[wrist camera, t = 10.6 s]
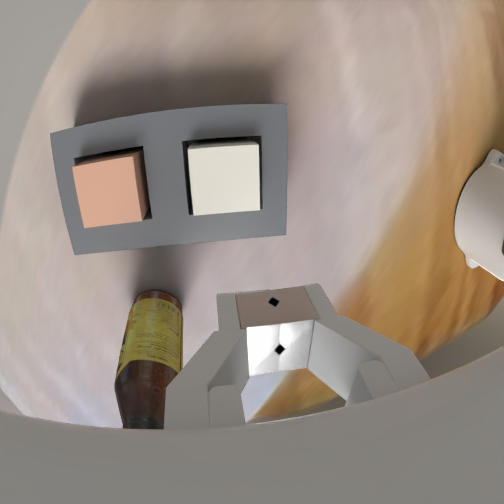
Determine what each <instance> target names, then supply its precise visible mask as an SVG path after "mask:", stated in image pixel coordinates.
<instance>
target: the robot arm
mask: <svg viewBox="0 0 504 504" xmlns="http://www.w3.org/2000/svg"><path fill="white" fill-rule="evenodd" d="M455 237H456V241H457V244H458V246H459V247H460V249H461V250H462V251H463V252H464V254H465V258H466V263H467V265H468V266H469V267H471V268H475V267H477V266H481V267H482V268H484V269H485V270H487V271H488V272H490V273H491V274H493V275H494V276H496V277H497V278H499V279H500V280H502V281H504V154H503V153H501V152H500V151H498V150H496V149H492V150H491V151H490V152H489V154H488V156H487V158H486V160H485V162H484V163H483V165H482V166H481V167H479V168H478V169H477V170H476V171H475V172H474V173H473V174H472V176H471V177H470V178H469V180H468V182H467V183H466V185H465V187H464V189H463V191H462V194H461V196H460V199H459V202H458V206H457V210H456V215H455ZM217 310H218V323H219V331H215V332H213V333H212V334H211V336H210V337H209V338H208V339H207V340H206V342H205V343H204V344H203V345H202V346H201V348H200V349H199V350H198V351H197V352H196V353H195V355H194V356H193V357H192V358H191V359H190V360H189V362H188V363H187V364H186V365H185V366H184V368H183V369H182V370H181V371H180V372H179V373H178V375H177V376H176V377H175V378H174V379H173V380H172V382H171V383H170V384H169V385H168V386H167V387H166V399H165V415H164V429H124V428H108V427H97V426H87V425H78V424H71V423H63V422H57V421H51V420H45V419H40V418H34V417H29V416H25V415H20V414H16V413H12V412H7V411H3V410H0V504H504V346H503V347H501V348H499V349H497V350H495V351H493V352H491V353H489V354H487V355H485V356H483V357H481V358H479V359H477V360H475V361H473V362H471V363H469V364H467V365H464V366H462V367H460V368H458V369H455V370H453V371H450V372H448V373H446V374H443V375H441V376H439V377H436V378H434V379H430V377H429V376H428V374H427V373H426V371H425V370H424V368H423V367H422V365H421V364H420V362H419V361H418V359H417V358H416V357H415V355H414V354H413V352H412V351H411V349H409V348H407V347H405V346H403V345H401V344H399V343H397V342H395V341H393V340H391V339H389V338H387V337H385V336H383V335H381V334H379V333H377V332H375V331H373V330H371V329H369V328H367V327H365V326H363V325H361V324H359V323H357V322H355V321H353V320H351V319H349V318H347V317H345V316H344V315H342V316H338V314H337V312H336V311H335V309H334V307H333V306H332V304H331V302H330V301H329V299H328V297H327V295H326V294H325V292H324V290H323V289H322V287H321V285H320V284H318V283H316V284H310V285H303V286H299V287H291V288H283V289H275V290H260V291H247V292H235V293H223V294H217ZM301 368H308V370H310V371H311V372H312V373H313V374H314V375H316V376H317V377H318V378H319V379H320V380H322V381H323V382H324V383H325V384H327V385H328V386H329V387H330V388H331V389H333V390H334V391H335V392H336V393H338V394H339V395H340V396H341V397H343V398H344V399H345V400H346V401H347V402H346V404H345V407H342V408H338V409H334V410H329V411H325V412H320V413H315V414H311V415H306V416H300V417H296V418H289V419H284V420H277V421H270V422H264V423H256V424H247V425H246V423H245V417H244V411H243V405H242V399H241V393H242V391H243V389H244V387H245V385H246V383H247V381H248V380H249V378H250V377H249V376H252V375H259V374H266V373H272V372H278V371H286V370H293V369H301Z"/></svg>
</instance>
